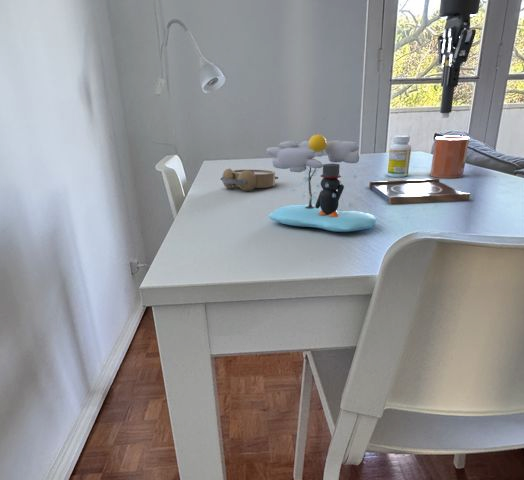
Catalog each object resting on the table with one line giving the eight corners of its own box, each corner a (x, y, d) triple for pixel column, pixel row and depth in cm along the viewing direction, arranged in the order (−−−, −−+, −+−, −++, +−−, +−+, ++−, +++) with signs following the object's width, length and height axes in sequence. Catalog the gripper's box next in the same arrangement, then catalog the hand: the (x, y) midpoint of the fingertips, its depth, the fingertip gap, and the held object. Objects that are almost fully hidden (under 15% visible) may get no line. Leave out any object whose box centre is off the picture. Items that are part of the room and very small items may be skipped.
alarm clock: (285, 172, 118) (244, 169, 107) (283, 192, 120) (243, 192, 109) (252, 168, 124) (210, 165, 114) (250, 188, 126) (209, 187, 115)
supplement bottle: (398, 178, 122) (402, 137, 117) (382, 175, 126) (386, 136, 121) (412, 175, 124) (417, 135, 119) (397, 172, 128) (401, 134, 123)
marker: (448, 116, 106) (455, 59, 101) (452, 117, 104) (460, 59, 99) (437, 117, 106) (443, 60, 101) (441, 118, 104) (448, 60, 99)
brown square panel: (437, 184, 113) (438, 178, 112) (469, 200, 98) (470, 193, 97) (369, 187, 112) (369, 181, 112) (390, 204, 97) (390, 197, 96)
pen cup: (455, 172, 126) (461, 135, 122) (468, 177, 119) (474, 138, 115) (425, 173, 126) (430, 136, 122) (437, 178, 119) (442, 140, 115)
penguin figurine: (384, 226, 83) (393, 132, 75) (354, 241, 76) (360, 138, 68) (293, 212, 94) (292, 128, 87) (259, 224, 87) (255, 134, 80)
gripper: (497, -20, 88) (480, 86, 96) (465, -8, 100) (452, 85, 108) (458, -18, 88) (445, 88, 96) (430, -6, 100) (420, 87, 108)
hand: (449, 86), depth 102 cm, fingers closed on marker, 2 cm apart
